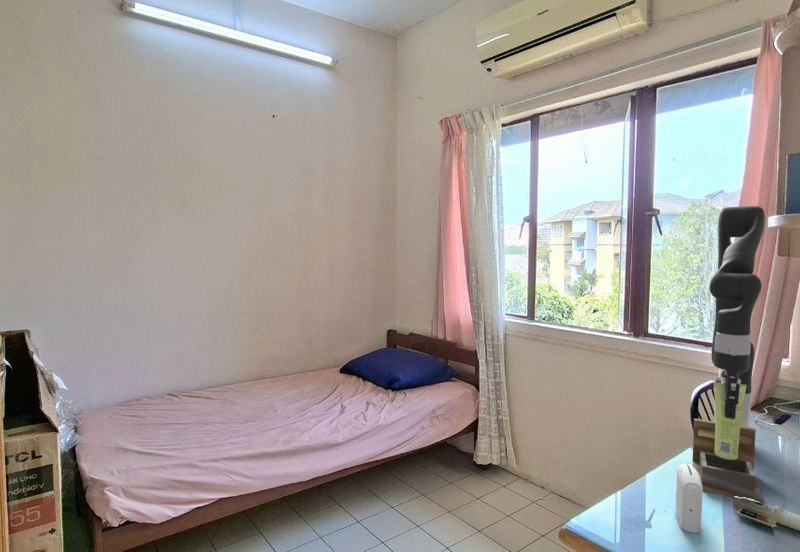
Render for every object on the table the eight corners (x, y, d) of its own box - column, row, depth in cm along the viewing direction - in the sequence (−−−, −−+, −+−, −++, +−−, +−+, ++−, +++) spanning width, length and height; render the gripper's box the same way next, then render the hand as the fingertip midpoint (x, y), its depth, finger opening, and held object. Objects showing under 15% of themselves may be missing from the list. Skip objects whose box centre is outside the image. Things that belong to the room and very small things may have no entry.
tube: (721, 449, 123) (724, 379, 122) (743, 457, 119) (746, 384, 118) (710, 454, 121) (713, 382, 119) (731, 462, 116) (735, 387, 115)
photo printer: (702, 535, 100) (705, 481, 99) (680, 530, 101) (682, 477, 100) (694, 510, 109) (696, 460, 108) (673, 506, 111) (675, 457, 110)
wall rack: (692, 461, 133) (694, 418, 132) (752, 474, 126) (754, 428, 125) (694, 488, 119) (696, 440, 118) (762, 504, 111) (765, 452, 111)
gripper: (712, 343, 126) (709, 404, 127) (716, 354, 114) (713, 421, 115) (746, 346, 122) (743, 409, 123) (754, 358, 110) (750, 427, 111)
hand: (728, 414), depth 119 cm, fingers closed on tube, 4 cm apart
